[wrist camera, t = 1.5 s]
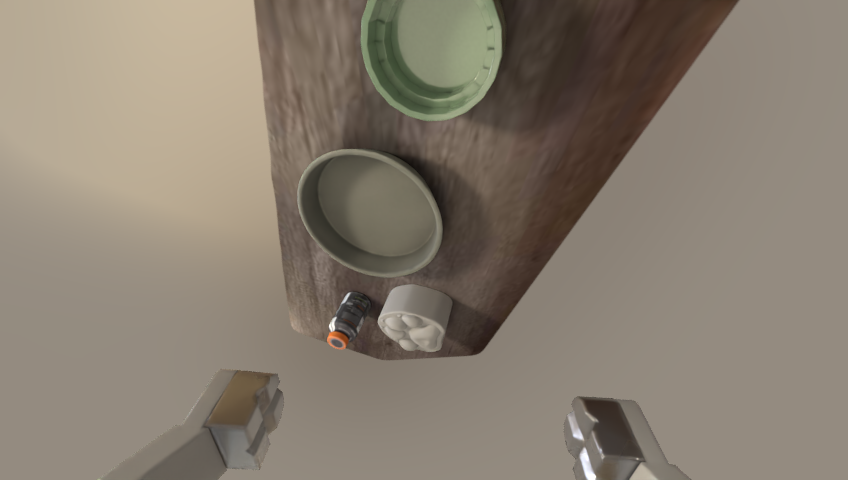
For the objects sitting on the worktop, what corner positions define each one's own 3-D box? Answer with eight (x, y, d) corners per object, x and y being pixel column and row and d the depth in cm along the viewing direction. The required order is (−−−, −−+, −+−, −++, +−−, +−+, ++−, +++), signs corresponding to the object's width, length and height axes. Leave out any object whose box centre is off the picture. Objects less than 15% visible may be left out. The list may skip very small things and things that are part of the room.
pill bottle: (340, 293, 79) (315, 335, 70) (361, 288, 76) (338, 331, 68) (356, 312, 82) (333, 354, 73) (376, 307, 79) (356, 351, 70)
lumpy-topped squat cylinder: (446, 327, 77) (437, 362, 70) (388, 310, 78) (373, 343, 72) (454, 294, 70) (445, 330, 64) (390, 277, 72) (375, 310, 65)
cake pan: (394, 281, 72) (386, 298, 69) (289, 204, 67) (275, 217, 63) (479, 210, 57) (475, 227, 54) (352, 103, 52) (339, 113, 48)
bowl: (366, -29, 42) (344, -27, 37) (505, -56, 37) (500, -57, 33) (392, 108, 51) (377, 124, 46) (507, 100, 46) (503, 117, 42)
